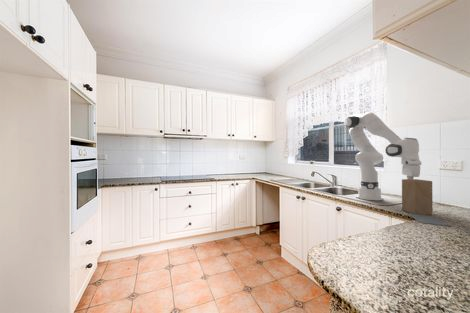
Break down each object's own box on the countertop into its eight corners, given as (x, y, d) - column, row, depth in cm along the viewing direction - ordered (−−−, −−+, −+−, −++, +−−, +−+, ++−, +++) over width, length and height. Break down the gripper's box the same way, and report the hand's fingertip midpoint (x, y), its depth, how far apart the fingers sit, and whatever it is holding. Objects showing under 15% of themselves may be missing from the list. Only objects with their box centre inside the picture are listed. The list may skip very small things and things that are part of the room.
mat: (407, 213, 117) (407, 213, 117) (434, 216, 111) (434, 216, 111) (419, 222, 101) (419, 222, 101) (452, 226, 95) (452, 225, 95)
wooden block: (433, 215, 115) (432, 181, 115) (415, 214, 115) (415, 180, 115) (417, 210, 125) (417, 179, 125) (401, 210, 125) (401, 179, 125)
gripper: (399, 161, 141) (399, 180, 140) (409, 162, 122) (409, 184, 122) (410, 161, 138) (410, 181, 138) (422, 162, 119) (422, 184, 119)
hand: (410, 182), depth 130 cm, fingers closed
